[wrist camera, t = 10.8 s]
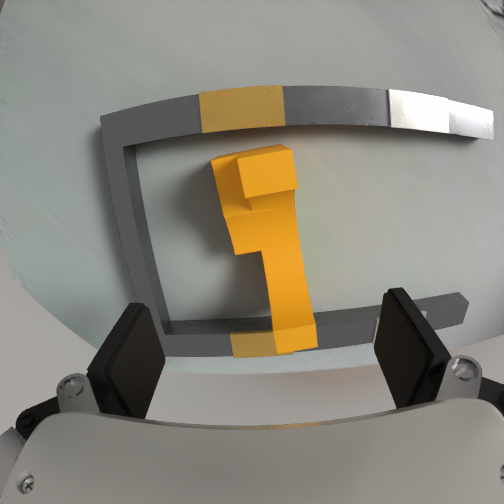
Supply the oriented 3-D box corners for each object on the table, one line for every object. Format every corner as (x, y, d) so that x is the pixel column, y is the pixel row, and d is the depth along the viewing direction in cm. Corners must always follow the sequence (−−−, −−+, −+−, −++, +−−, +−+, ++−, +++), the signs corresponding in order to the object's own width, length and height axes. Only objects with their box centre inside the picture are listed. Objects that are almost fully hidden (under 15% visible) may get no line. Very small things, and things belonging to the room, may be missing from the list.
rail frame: (478, 110, 16) (494, 111, 14) (452, 312, 24) (463, 324, 22) (112, 116, 18) (98, 115, 16) (162, 342, 26) (156, 357, 24)
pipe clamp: (217, 156, 19) (200, 167, 13) (280, 144, 19) (291, 149, 13) (252, 303, 24) (250, 357, 18) (303, 294, 23) (317, 346, 18)
